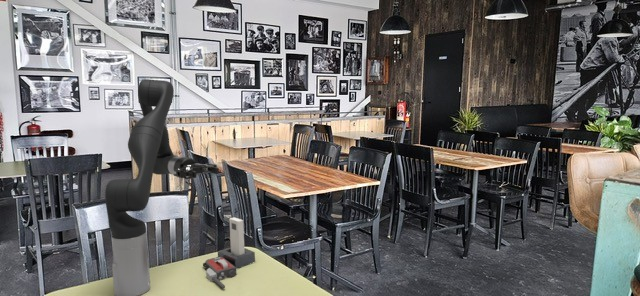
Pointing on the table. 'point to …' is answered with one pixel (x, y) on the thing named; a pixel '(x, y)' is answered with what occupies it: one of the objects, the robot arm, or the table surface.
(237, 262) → the holder
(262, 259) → the table surface
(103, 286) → the table surface
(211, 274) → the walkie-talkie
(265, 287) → the table surface
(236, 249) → the white tall block
